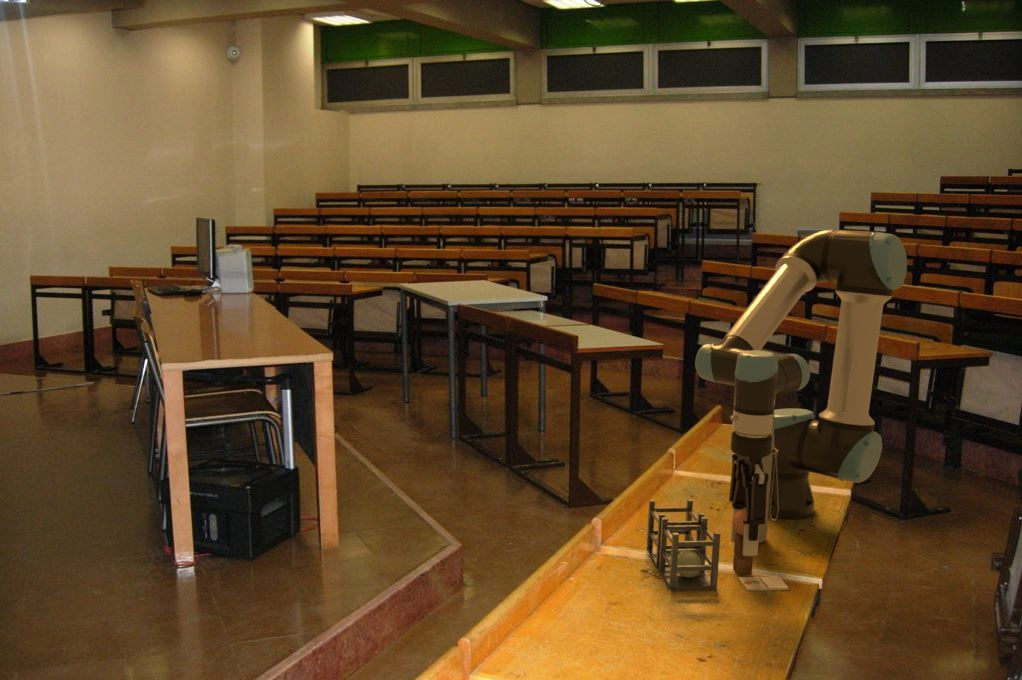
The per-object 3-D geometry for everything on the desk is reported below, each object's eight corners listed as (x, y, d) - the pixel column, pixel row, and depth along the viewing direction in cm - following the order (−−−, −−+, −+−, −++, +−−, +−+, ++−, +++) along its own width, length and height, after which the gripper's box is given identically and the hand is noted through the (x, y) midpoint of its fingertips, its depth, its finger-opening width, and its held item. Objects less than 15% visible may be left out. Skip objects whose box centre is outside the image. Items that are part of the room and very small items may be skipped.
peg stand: (746, 568, 192) (749, 531, 190) (751, 574, 189) (754, 537, 188) (732, 568, 192) (735, 532, 190) (737, 574, 189) (740, 537, 187)
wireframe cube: (688, 550, 200) (691, 499, 198) (701, 567, 192) (704, 514, 190) (646, 551, 199) (649, 499, 197) (657, 568, 191) (660, 515, 189)
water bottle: (729, 543, 205) (736, 427, 200) (734, 530, 212) (741, 418, 208) (774, 549, 202) (783, 432, 197) (777, 536, 209) (786, 423, 204)
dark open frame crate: (702, 570, 190) (706, 516, 188) (716, 589, 182) (720, 533, 180) (658, 571, 190) (661, 517, 188) (670, 590, 181) (673, 534, 179)
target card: (778, 578, 188) (778, 576, 187) (788, 589, 183) (788, 587, 183) (738, 579, 187) (738, 576, 187) (747, 590, 182) (747, 588, 182)
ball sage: (696, 570, 188) (697, 546, 187) (704, 581, 183) (705, 556, 182) (671, 571, 188) (672, 546, 187) (678, 582, 183) (679, 557, 182)
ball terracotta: (752, 530, 192) (754, 505, 191) (761, 539, 187) (763, 515, 186) (728, 530, 191) (729, 506, 190) (736, 540, 186) (738, 515, 185)
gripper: (717, 419, 194) (710, 530, 198) (749, 447, 176) (741, 568, 180) (753, 419, 195) (746, 529, 199) (790, 446, 176) (780, 567, 181)
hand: (743, 547), depth 189 cm, fingers open, 6 cm apart
